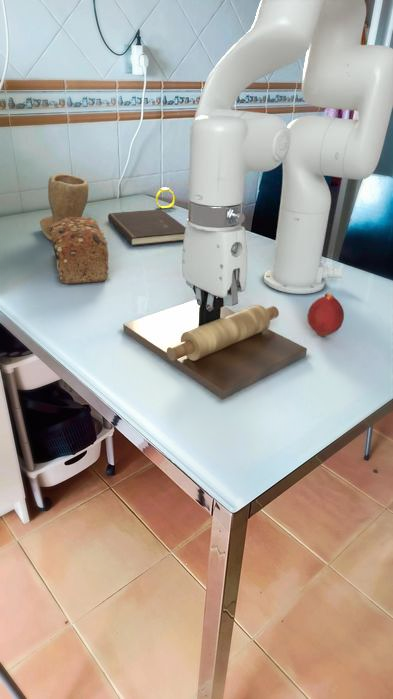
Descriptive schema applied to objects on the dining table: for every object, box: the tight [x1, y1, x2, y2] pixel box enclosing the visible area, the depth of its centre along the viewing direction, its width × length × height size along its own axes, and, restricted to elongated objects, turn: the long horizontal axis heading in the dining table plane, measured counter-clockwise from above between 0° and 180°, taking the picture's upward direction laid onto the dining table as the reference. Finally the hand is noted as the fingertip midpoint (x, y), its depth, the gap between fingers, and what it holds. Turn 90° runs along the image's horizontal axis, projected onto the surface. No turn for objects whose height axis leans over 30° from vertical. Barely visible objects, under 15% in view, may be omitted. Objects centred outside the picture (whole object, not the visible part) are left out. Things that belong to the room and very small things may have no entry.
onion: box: [306, 292, 345, 338], centre depth 79 cm, size 6×6×8 cm
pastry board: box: [122, 299, 308, 400], centre depth 77 cm, size 18×24×2 cm
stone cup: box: [39, 173, 89, 241], centre depth 119 cm, size 15×12×15 cm
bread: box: [50, 216, 109, 285], centre depth 101 cm, size 19×11×10 cm, turn 17°
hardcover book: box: [107, 208, 186, 247], centre depth 128 cm, size 16×23×2 cm
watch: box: [155, 187, 176, 210], centre depth 148 cm, size 6×3×6 cm, turn 109°
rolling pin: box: [167, 304, 280, 361], centre depth 73 cm, size 22×4×4 cm, turn 131°
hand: (208, 328), depth 76 cm, fingers closed
